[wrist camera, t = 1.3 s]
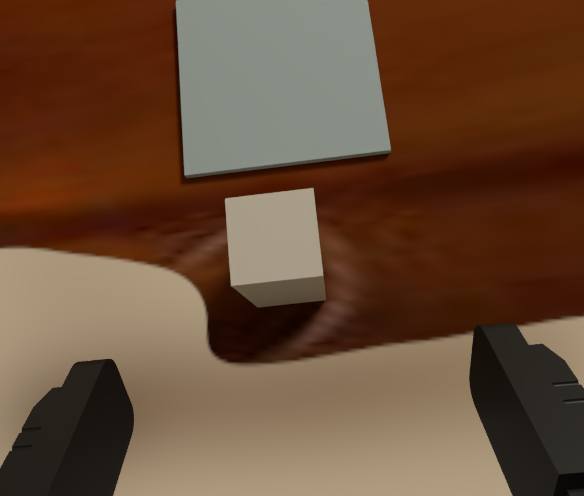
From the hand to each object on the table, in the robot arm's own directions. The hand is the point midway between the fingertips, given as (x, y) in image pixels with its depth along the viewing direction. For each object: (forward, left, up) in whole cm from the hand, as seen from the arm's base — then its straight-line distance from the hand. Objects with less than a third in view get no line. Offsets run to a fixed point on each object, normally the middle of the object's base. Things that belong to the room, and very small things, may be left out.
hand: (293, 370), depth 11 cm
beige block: (+6, -4, -25) cm, 26 cm away
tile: (+17, -16, -25) cm, 34 cm away
